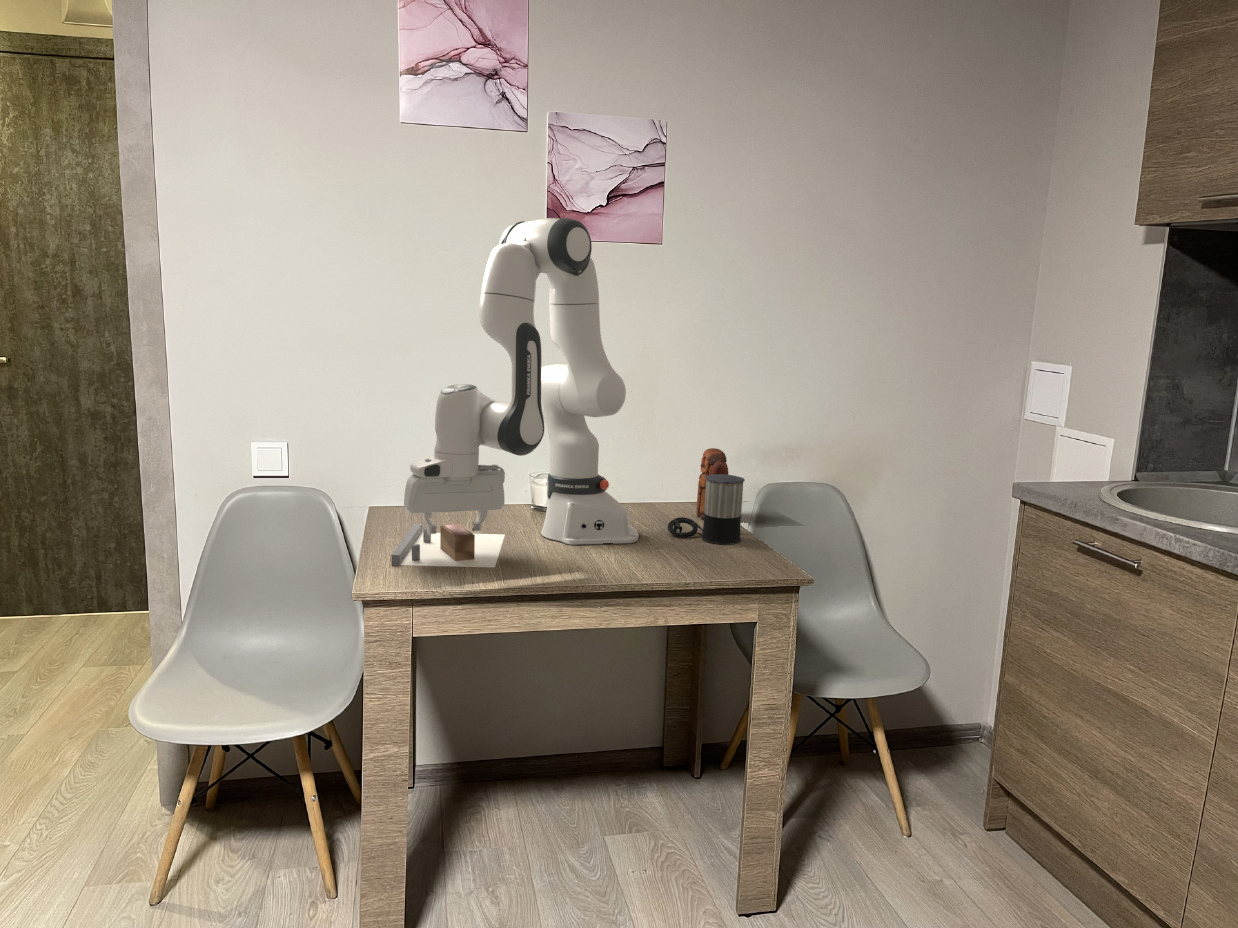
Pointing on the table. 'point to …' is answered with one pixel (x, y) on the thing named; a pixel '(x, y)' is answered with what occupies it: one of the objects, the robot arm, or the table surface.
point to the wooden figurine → (710, 465)
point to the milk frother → (717, 511)
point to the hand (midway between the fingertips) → (454, 532)
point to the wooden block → (457, 542)
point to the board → (427, 551)
